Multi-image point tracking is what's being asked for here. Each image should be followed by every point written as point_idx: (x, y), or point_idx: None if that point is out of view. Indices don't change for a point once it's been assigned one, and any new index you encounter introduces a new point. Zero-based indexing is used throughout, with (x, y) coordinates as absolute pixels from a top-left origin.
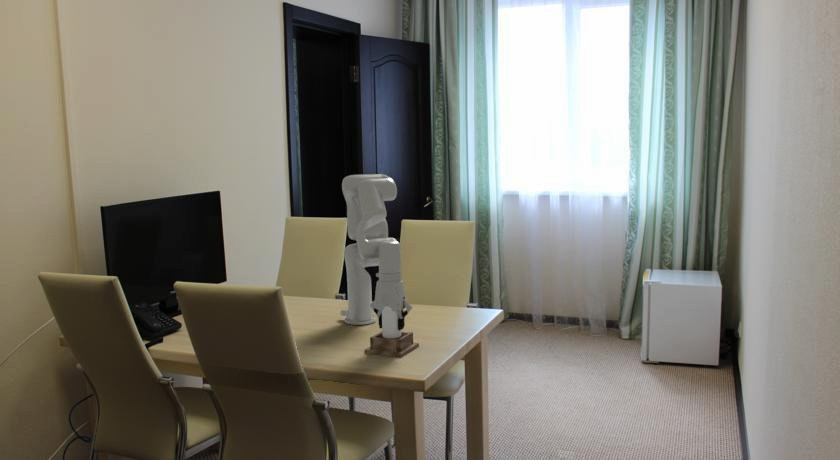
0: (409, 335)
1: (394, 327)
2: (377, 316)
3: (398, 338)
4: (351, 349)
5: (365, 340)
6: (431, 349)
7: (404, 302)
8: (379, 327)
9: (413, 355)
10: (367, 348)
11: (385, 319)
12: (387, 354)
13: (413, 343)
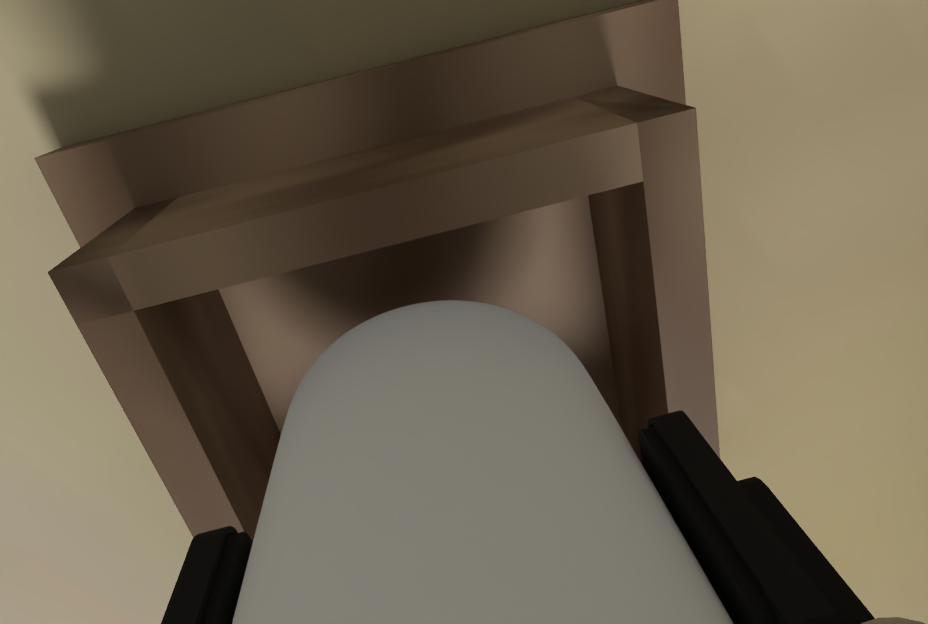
0: None
1: (270, 510)
2: (917, 622)
3: None
4: (922, 43)
5: (922, 427)
6: (76, 579)
7: None
8: (683, 413)
9: (19, 307)
10: (673, 81)
11: (492, 567)
12: (283, 93)
13: None
